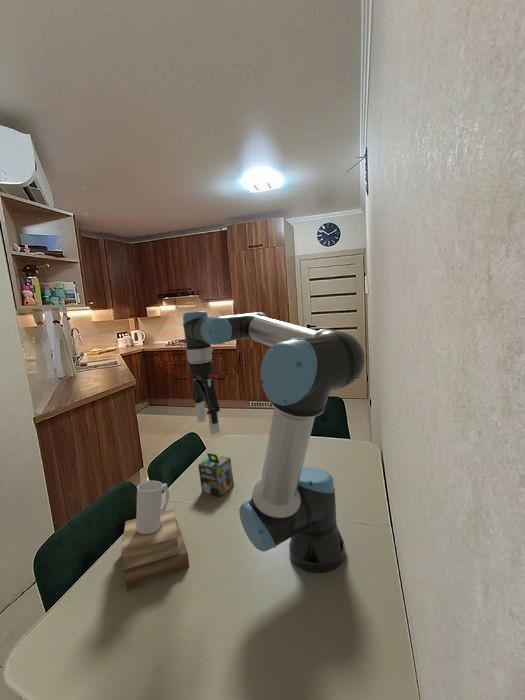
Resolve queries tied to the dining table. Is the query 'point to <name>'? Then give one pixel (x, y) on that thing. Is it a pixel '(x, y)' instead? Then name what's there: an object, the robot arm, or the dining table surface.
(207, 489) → the chalk box
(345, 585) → the dining table surface
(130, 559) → the beech slab
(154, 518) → the mug
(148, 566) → the wooden stepped stand
